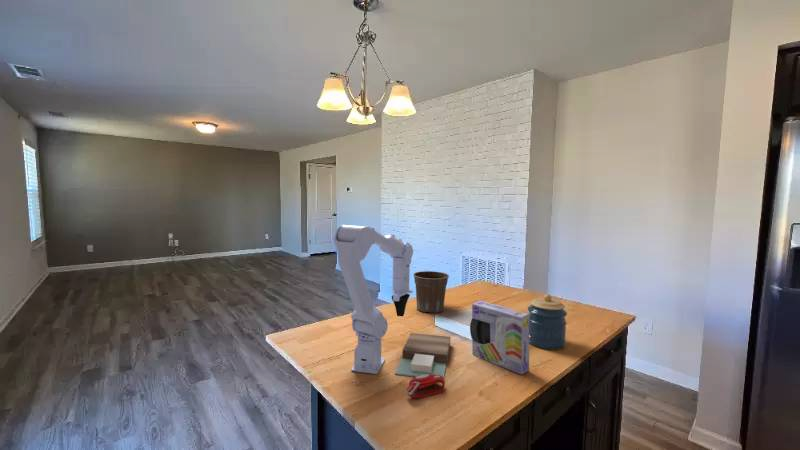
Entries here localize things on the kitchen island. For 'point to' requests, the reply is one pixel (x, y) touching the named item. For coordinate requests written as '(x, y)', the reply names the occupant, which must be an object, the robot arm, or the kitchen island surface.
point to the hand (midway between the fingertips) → (400, 315)
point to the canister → (547, 323)
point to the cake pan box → (500, 336)
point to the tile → (422, 363)
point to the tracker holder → (424, 385)
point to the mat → (405, 370)
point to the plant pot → (430, 290)
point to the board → (427, 347)
